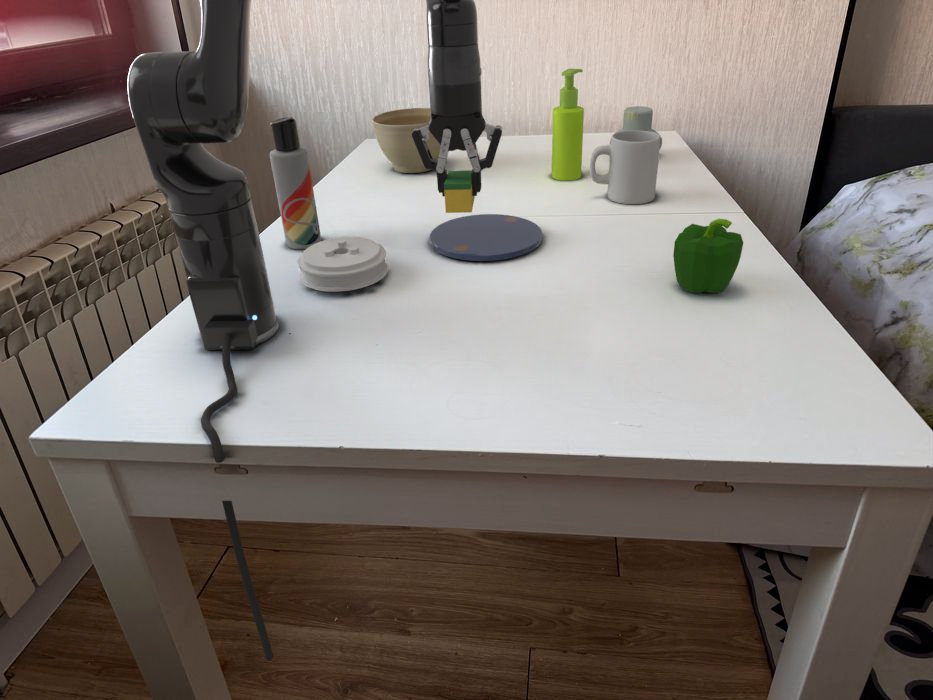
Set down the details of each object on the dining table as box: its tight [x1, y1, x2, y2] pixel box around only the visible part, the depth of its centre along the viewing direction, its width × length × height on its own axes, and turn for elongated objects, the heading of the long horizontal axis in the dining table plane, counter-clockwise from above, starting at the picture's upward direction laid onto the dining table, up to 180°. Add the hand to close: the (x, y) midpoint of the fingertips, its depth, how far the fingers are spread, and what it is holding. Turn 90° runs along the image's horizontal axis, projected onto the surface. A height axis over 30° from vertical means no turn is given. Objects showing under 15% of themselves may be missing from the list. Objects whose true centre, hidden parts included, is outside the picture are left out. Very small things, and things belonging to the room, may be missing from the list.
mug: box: [589, 130, 661, 205], centre depth 125 cm, size 12×8×11 cm
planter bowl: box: [371, 107, 441, 174], centre depth 147 cm, size 16×16×11 cm
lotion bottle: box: [269, 116, 322, 250], centre depth 109 cm, size 6×6×20 cm
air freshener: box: [609, 105, 663, 151], centre depth 147 cm, size 11×8×10 cm
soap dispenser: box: [551, 68, 585, 182], centre depth 135 cm, size 6×7×20 cm
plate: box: [429, 213, 543, 262], centre depth 112 cm, size 18×18×1 cm
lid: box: [297, 236, 389, 293], centre depth 100 cm, size 13×13×5 cm
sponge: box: [444, 169, 476, 214], centre depth 108 cm, size 7×4×4 cm, turn 176°
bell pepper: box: [672, 218, 744, 294], centre depth 92 cm, size 8×8×10 cm
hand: (460, 194), depth 108 cm, fingers closed on sponge, 4 cm apart
